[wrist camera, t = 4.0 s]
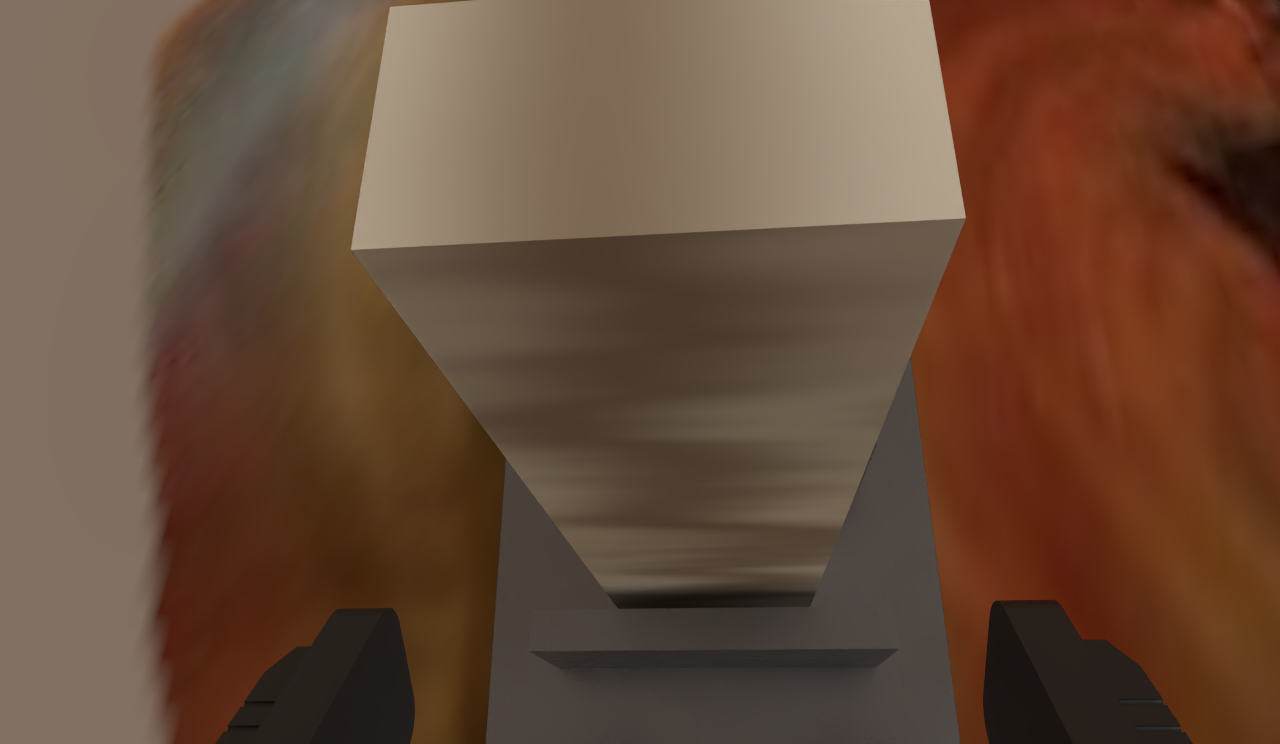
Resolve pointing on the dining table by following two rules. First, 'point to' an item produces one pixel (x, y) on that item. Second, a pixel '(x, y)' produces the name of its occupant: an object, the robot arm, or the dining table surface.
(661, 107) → the beige tall block
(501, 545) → the rack
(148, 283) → the dining table surface
